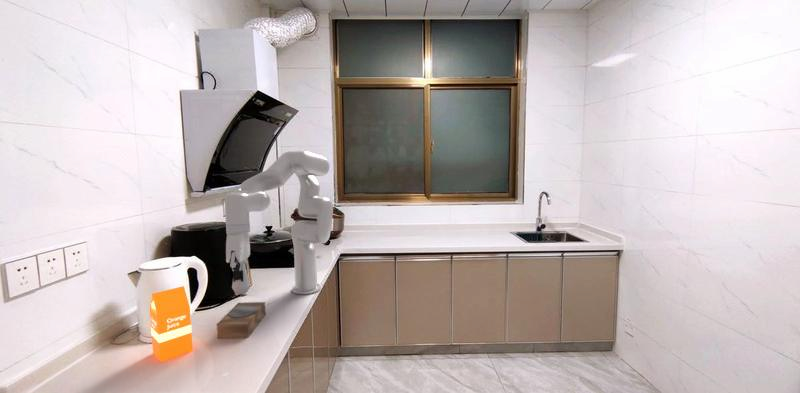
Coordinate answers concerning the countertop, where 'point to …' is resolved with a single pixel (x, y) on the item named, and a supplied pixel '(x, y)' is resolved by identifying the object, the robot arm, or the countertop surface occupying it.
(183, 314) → the orange juice
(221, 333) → the walnut stand
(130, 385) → the countertop surface
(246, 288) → the salt shaker
